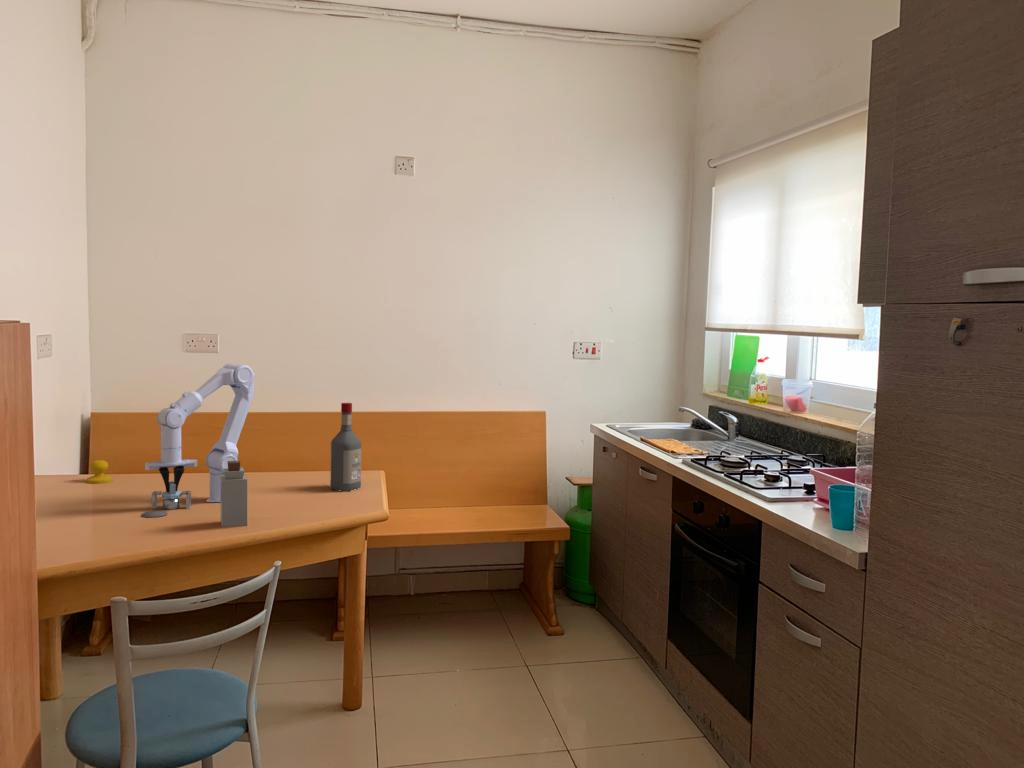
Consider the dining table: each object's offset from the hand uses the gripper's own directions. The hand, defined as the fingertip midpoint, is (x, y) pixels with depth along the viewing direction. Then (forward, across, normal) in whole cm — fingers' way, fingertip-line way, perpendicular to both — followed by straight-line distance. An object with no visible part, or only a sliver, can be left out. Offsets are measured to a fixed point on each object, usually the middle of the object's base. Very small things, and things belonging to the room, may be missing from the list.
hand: (171, 491), depth 241 cm
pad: (+5, +6, +6) cm, 10 cm away
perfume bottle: (+6, -13, +26) cm, 29 cm away
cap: (+2, 0, 0) cm, 2 cm away
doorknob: (+6, +16, -49) cm, 52 cm away
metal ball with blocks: (+5, 0, 0) cm, 5 cm away
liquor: (+6, -57, -5) cm, 57 cm away
